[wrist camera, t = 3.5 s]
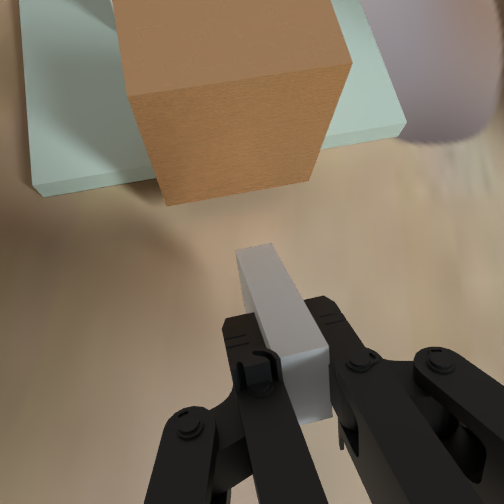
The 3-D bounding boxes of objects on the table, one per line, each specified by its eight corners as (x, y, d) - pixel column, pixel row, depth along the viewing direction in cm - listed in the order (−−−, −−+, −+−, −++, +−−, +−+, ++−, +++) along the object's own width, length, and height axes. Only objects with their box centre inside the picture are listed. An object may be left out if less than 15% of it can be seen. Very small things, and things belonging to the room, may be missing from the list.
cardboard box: (256, 1, 27) (268, -175, 19) (308, 180, 23) (352, 62, 15) (133, 17, 26) (87, -160, 18) (166, 206, 23) (127, 96, 14)
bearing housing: (330, -45, 31) (366, -207, 23) (397, 136, 27) (475, 18, 18) (27, -9, 29) (-59, -175, 20) (43, 197, 24) (-58, 94, 16)
